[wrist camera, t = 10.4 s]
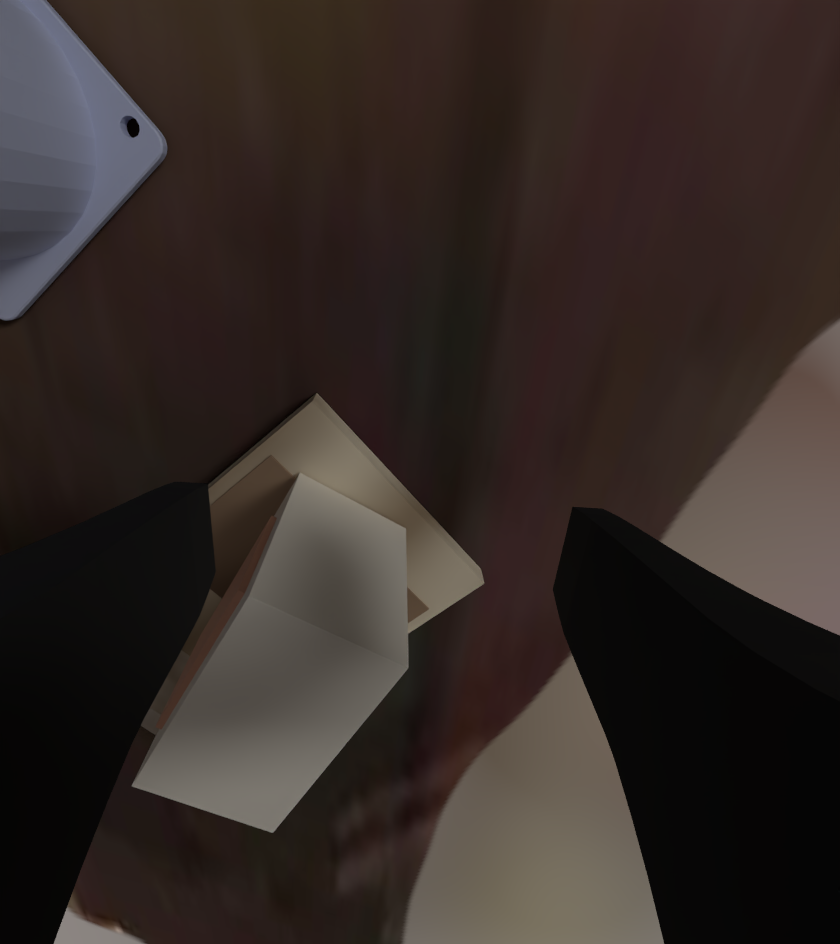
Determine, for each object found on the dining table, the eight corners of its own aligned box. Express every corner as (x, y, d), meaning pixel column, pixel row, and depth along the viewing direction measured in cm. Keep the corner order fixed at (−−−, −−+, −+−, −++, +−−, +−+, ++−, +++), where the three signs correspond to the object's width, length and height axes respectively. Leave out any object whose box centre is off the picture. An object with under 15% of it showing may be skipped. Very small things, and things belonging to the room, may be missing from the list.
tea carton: (206, 620, 22) (124, 784, 15) (295, 469, 19) (241, 592, 12) (308, 664, 23) (272, 833, 16) (406, 528, 20) (408, 667, 14)
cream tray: (88, 585, 22) (27, 656, 18) (316, 392, 19) (296, 432, 15) (263, 713, 25) (240, 794, 22) (480, 569, 22) (496, 635, 19)
